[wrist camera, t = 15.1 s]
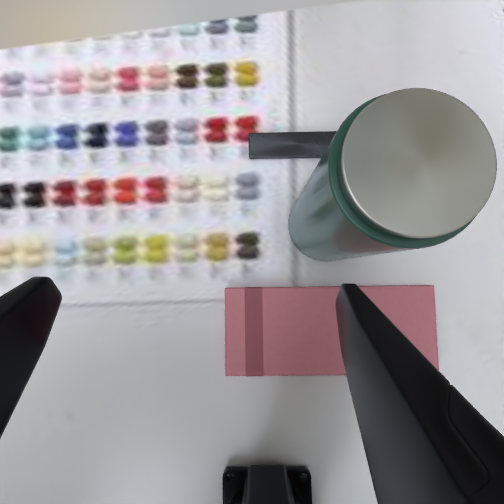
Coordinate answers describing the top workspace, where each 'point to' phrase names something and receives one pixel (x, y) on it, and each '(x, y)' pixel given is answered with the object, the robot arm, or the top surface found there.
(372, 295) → the towel
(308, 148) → the nail file
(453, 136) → the tin
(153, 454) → the top surface
